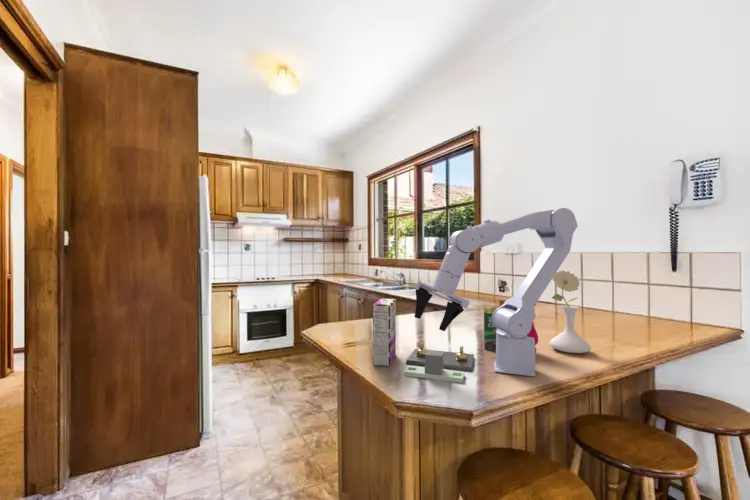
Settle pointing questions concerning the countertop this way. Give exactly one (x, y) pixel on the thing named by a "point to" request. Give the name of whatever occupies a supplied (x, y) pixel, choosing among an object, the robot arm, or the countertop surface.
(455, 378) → the board
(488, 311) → the coffee box
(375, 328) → the candy bar box
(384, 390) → the countertop surface
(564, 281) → the flower in vase
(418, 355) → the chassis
